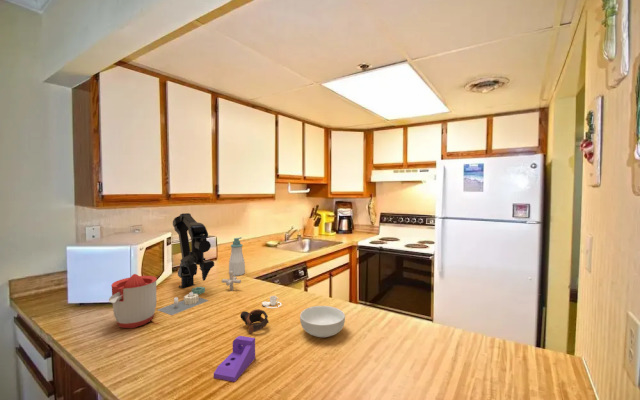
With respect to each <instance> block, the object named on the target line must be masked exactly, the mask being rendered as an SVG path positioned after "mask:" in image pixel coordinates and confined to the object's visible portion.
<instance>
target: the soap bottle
mask: <svg viewBox="0 0 640 400" xmlns="http://www.w3.org/2000/svg"><path fill="white" fill-rule="evenodd" d="M240 239H242V237H240V236H239V237H236V238H235V237H234V239H233V240H232V244H231V245H230V248H231V249H230V250H231V251H230V258H229V260H228V274H229V275H230V272H231V271H233V277H238V276H242V275H244V274H245V273H246V265H245V259H244V254H243V246H244V245H243V243H241V241H240Z"/></svg>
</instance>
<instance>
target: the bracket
mask: <svg viewBox="0 0 640 400" xmlns="http://www.w3.org/2000/svg"><path fill="white" fill-rule="evenodd" d="M255 359H256V338H255V337H251V336H250V337H249V336H243V335H239V336H237V337H235V339H233V341H232V352H231V353H229V355H228V356H227V357H226V358H225V359H224V360H223V361H222V362H220V364H219V365H218V366H217V367H216V369H215V370H214V372H213V378H214V379H218V380H222V379H223V381H227V382H233V383H235V382H236V381H237V380H238V379H239V378H240V377H241V376H242V374H243V373H244V372H245V371H246V370H247V368H249V366H250V365H251V364H252V362H253V361H254V360H255Z"/></svg>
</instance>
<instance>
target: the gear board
mask: <svg viewBox="0 0 640 400" xmlns="http://www.w3.org/2000/svg"><path fill="white" fill-rule="evenodd" d="M188 295H189V297H193V292H192V291H191V292H189V293H188ZM209 301H210V300H209V299H206V298H202V297H199V302H197V303H196V304H191V305H189V304H186V305H185V303H184V299H183V300H180V301H179V297H177V296H176V297H174V298H173V303H172V304H169V305H166V306H163V307H161V308H157V311H159V312H160V313H164V314H167V315H169V316H174V315H176V314H179V313H181V312H185V311H186V310H189V309H191V308H193V307H196V306H199V305H201V304H204V303H206V302H209Z"/></svg>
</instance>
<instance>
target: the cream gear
mask: <svg viewBox="0 0 640 400" xmlns="http://www.w3.org/2000/svg"><path fill="white" fill-rule="evenodd" d="M199 295H200V294H193V297H189V293H188V294H186V295H184V296H183V300H184V303H185V305H186V304H189V305H191V304H196V303H197V302H199V298H200V297H199Z"/></svg>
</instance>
